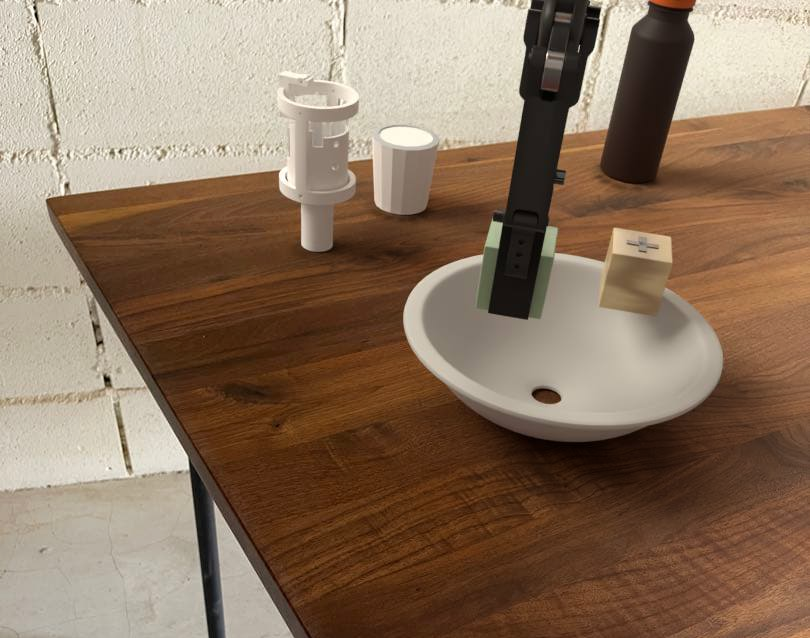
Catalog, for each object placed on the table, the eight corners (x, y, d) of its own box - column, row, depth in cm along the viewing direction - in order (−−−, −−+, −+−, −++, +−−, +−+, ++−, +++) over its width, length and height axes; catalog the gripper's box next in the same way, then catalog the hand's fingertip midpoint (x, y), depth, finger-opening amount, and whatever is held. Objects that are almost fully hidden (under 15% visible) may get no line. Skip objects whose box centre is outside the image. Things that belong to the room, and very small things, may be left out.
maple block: (655, 289, 72) (671, 235, 68) (656, 317, 68) (673, 262, 65) (600, 279, 72) (613, 226, 69) (598, 307, 69) (612, 252, 66)
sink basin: (552, 294, 83) (567, 227, 78) (758, 431, 70) (790, 360, 66) (338, 366, 72) (340, 292, 67) (536, 544, 59) (556, 469, 54)
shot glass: (433, 219, 92) (440, 151, 87) (367, 215, 92) (371, 146, 87) (431, 191, 97) (438, 125, 92) (369, 186, 97) (372, 120, 92)
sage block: (545, 288, 63) (559, 226, 59) (540, 320, 59) (554, 256, 56) (483, 277, 63) (492, 215, 60) (474, 308, 60) (484, 244, 57)
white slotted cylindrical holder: (300, 221, 89) (299, 60, 79) (364, 238, 88) (372, 76, 77) (267, 250, 85) (262, 82, 74) (334, 268, 83) (338, 100, 73)
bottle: (602, 181, 103) (650, -17, 88) (595, 157, 107) (639, -34, 93) (660, 186, 103) (716, -10, 89) (651, 163, 108) (703, -27, 94)
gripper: (531, -155, 51) (475, 230, 67) (496, -103, 39) (438, 353, 55) (661, -138, 50) (573, 246, 67) (668, -80, 38) (557, 374, 54)
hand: (512, 294), depth 61 cm, fingers closed on sage block, 4 cm apart
